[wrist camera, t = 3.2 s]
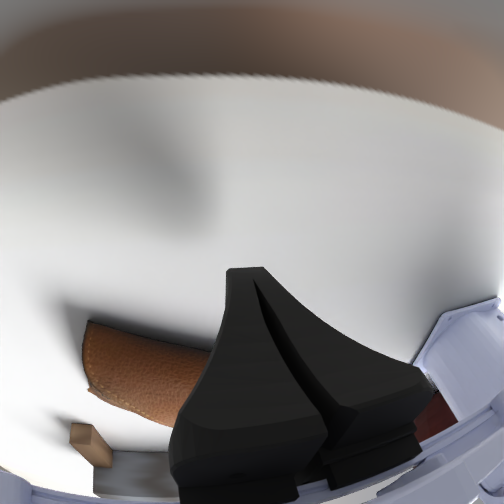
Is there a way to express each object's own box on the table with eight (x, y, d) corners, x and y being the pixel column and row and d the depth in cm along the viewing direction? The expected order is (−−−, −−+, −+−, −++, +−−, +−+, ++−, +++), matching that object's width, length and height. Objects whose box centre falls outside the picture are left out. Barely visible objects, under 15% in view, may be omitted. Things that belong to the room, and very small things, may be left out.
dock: (374, 394, 25) (395, 436, 20) (345, 434, 29) (360, 469, 25) (71, 423, 19) (66, 474, 15) (103, 459, 24) (103, 499, 20)
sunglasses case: (81, 395, 17) (70, 450, 11) (95, 302, 18) (79, 330, 11) (298, 419, 24) (343, 458, 18) (322, 348, 24) (377, 374, 18)
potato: (375, 437, 33) (402, 496, 25) (424, 381, 27) (468, 454, 18) (430, 415, 36) (458, 465, 27) (478, 359, 29) (517, 416, 21)
